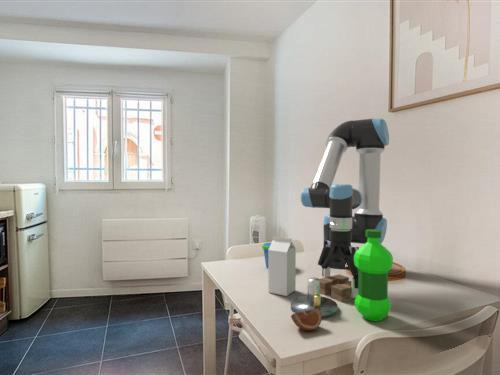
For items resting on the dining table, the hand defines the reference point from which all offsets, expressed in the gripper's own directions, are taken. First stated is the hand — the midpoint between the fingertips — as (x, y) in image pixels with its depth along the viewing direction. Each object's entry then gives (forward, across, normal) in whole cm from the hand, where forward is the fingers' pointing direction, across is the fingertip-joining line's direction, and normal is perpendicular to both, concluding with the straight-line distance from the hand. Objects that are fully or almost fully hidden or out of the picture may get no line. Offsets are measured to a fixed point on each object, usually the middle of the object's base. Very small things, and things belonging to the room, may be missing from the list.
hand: (340, 291), depth 116 cm
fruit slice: (+1, +14, -28) cm, 31 cm away
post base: (+1, +5, -17) cm, 18 cm away
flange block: (0, 0, 0) cm, 0 cm away
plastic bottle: (+1, +19, -7) cm, 20 cm away
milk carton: (+1, -12, -16) cm, 20 cm away
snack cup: (+1, -38, 0) cm, 38 cm away
